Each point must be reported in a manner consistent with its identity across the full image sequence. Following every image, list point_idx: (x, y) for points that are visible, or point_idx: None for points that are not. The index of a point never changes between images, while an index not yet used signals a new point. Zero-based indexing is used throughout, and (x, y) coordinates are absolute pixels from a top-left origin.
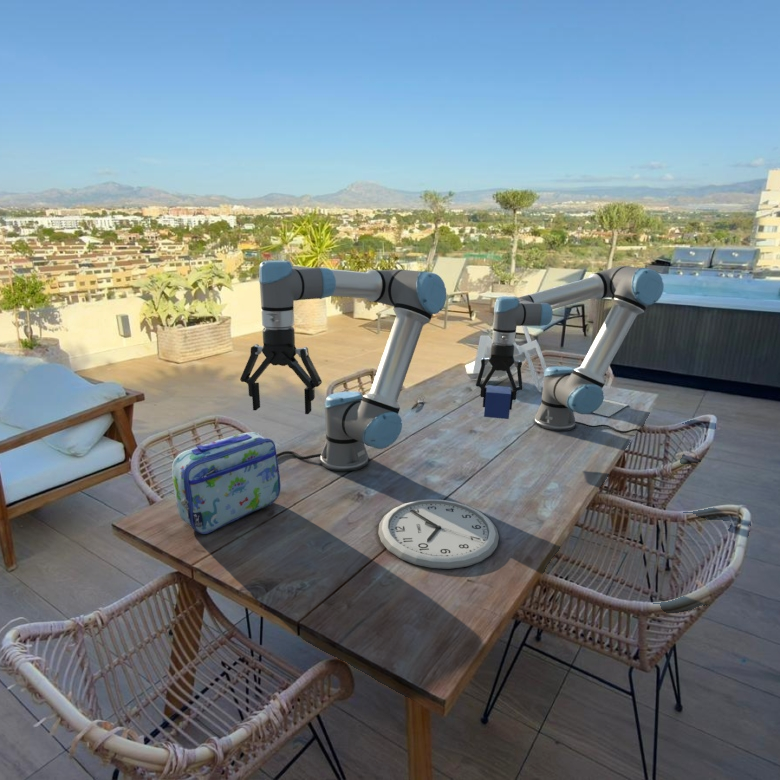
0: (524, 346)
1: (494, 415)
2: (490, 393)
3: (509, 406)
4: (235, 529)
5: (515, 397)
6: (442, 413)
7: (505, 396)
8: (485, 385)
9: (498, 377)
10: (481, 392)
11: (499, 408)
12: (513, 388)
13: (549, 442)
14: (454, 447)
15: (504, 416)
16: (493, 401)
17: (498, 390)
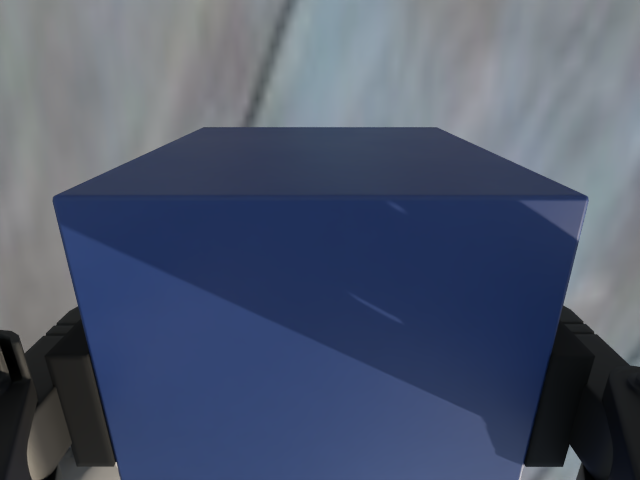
0: None
1: (340, 129)
2: (486, 188)
3: (160, 150)
4: None
5: (67, 321)
6: (563, 476)
7: (185, 182)
8: (630, 419)
9: None
10: (588, 337)
11: (292, 143)
12: (7, 412)
13: (31, 258)
14: (550, 52)
15: (239, 129)
16: (385, 157)
17: (324, 364)
